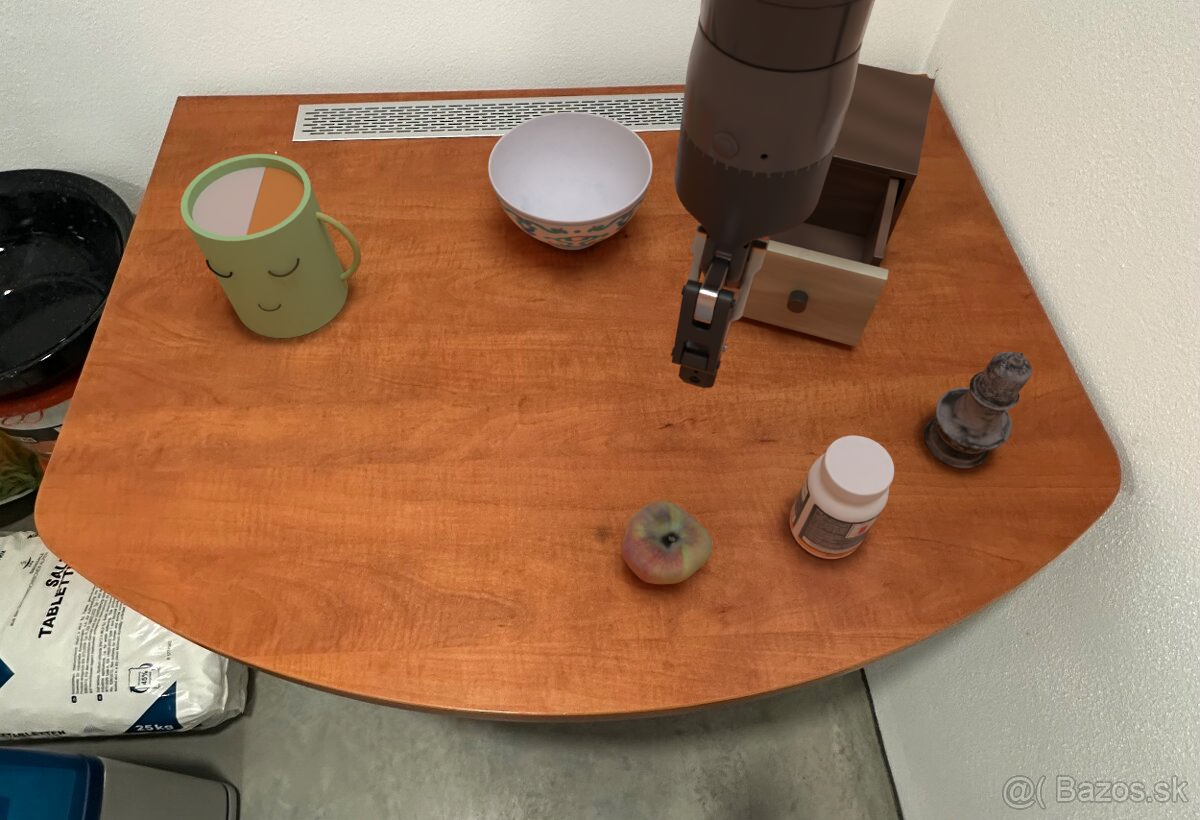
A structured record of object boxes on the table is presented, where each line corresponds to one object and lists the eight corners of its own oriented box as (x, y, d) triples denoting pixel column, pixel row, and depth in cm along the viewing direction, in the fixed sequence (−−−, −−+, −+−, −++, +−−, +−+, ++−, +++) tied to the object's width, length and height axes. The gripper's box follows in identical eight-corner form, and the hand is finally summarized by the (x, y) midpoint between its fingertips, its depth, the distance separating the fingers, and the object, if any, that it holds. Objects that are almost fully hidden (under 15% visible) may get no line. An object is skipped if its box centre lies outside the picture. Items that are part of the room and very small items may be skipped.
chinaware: (524, 163, 84) (519, 99, 78) (662, 190, 82) (668, 127, 76) (474, 263, 77) (463, 202, 70) (625, 296, 74) (629, 236, 68)
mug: (224, 342, 71) (164, 245, 61) (248, 256, 77) (197, 154, 67) (367, 340, 71) (331, 243, 61) (380, 254, 77) (350, 152, 67)
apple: (606, 515, 62) (608, 479, 57) (709, 529, 62) (720, 494, 57) (595, 588, 59) (596, 557, 54) (704, 604, 58) (714, 574, 54)
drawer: (854, 357, 70) (884, 290, 63) (718, 320, 72) (733, 252, 65) (878, 243, 78) (908, 172, 70) (755, 213, 80) (772, 141, 72)
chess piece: (990, 480, 64) (1064, 397, 54) (916, 459, 65) (976, 373, 55) (995, 422, 67) (1066, 333, 57) (924, 402, 68) (982, 312, 58)
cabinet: (880, 259, 77) (917, 175, 69) (745, 226, 80) (764, 140, 71) (899, 166, 85) (935, 78, 76) (776, 138, 87) (797, 50, 79)
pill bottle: (876, 539, 61) (922, 478, 53) (817, 574, 60) (854, 517, 52) (830, 482, 64) (866, 415, 56) (772, 514, 62) (800, 450, 54)
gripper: (808, 235, 34) (744, 435, 47) (866, 48, 41) (796, 268, 54) (638, 191, 35) (624, 398, 48) (724, 17, 42) (690, 240, 56)
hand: (715, 329), depth 51 cm, fingers open, 8 cm apart
